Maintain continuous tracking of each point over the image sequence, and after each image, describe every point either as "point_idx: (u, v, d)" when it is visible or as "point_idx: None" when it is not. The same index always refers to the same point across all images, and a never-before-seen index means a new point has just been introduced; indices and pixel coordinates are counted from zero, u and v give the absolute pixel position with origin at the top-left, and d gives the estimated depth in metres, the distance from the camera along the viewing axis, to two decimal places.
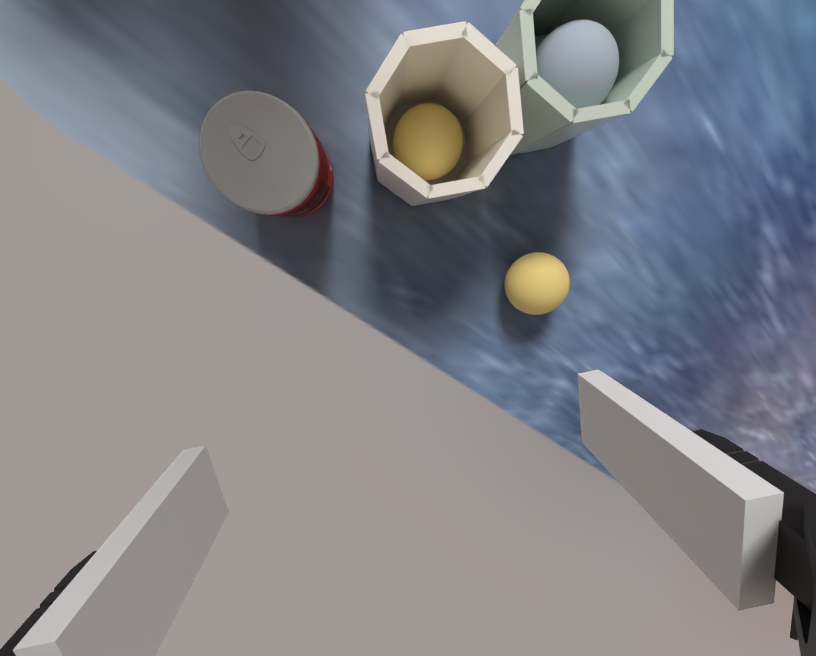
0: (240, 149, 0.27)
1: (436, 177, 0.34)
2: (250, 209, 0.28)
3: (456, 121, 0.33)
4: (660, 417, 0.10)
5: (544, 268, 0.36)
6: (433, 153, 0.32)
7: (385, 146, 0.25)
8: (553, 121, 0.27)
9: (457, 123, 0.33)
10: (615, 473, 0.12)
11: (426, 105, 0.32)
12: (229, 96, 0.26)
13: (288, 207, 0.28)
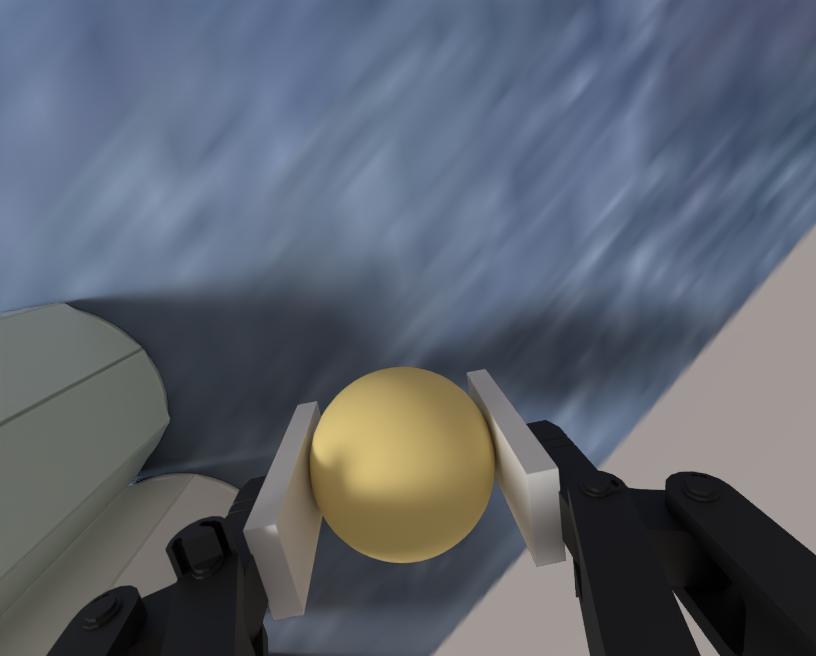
0: None
1: None
2: None
3: None
4: (507, 409, 0.12)
5: (344, 521, 0.11)
6: None
7: None
8: None
9: None
10: None
11: None
12: None
13: None
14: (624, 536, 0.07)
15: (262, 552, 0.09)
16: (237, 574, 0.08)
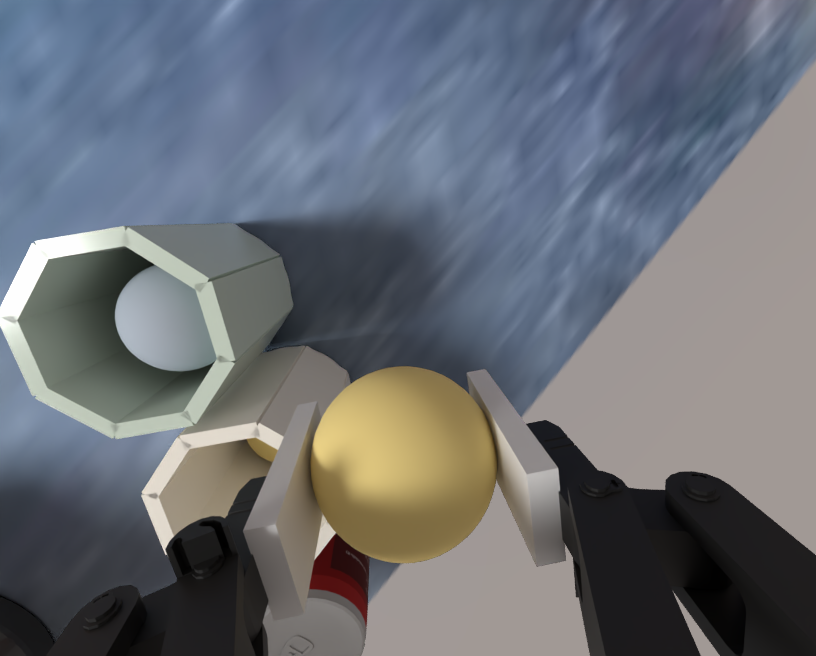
0: (303, 653, 0.27)
1: None
2: (361, 651, 0.27)
3: None
4: (507, 409, 0.12)
5: (345, 521, 0.11)
6: None
7: None
8: (239, 363, 0.20)
9: None
10: None
11: None
12: None
13: (358, 621, 0.26)
14: (624, 537, 0.07)
15: (262, 552, 0.09)
16: (237, 574, 0.08)
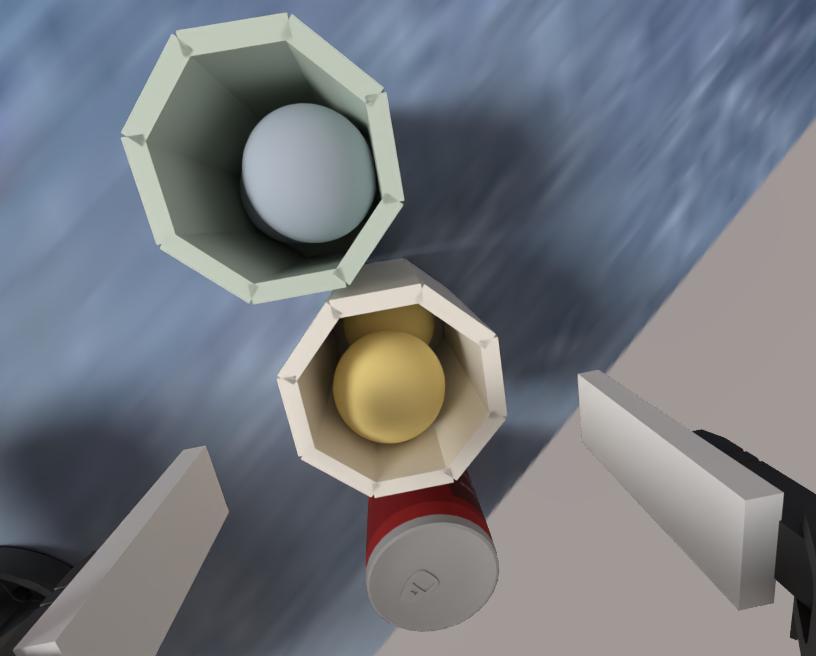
0: (426, 592, 0.23)
1: None
2: (493, 588, 0.23)
3: None
4: (659, 417, 0.10)
5: None
6: (410, 316, 0.24)
7: (437, 473, 0.19)
8: None
9: None
10: (615, 472, 0.12)
11: (349, 327, 0.25)
12: (373, 604, 0.23)
13: (493, 551, 0.23)
14: None
15: None
16: None
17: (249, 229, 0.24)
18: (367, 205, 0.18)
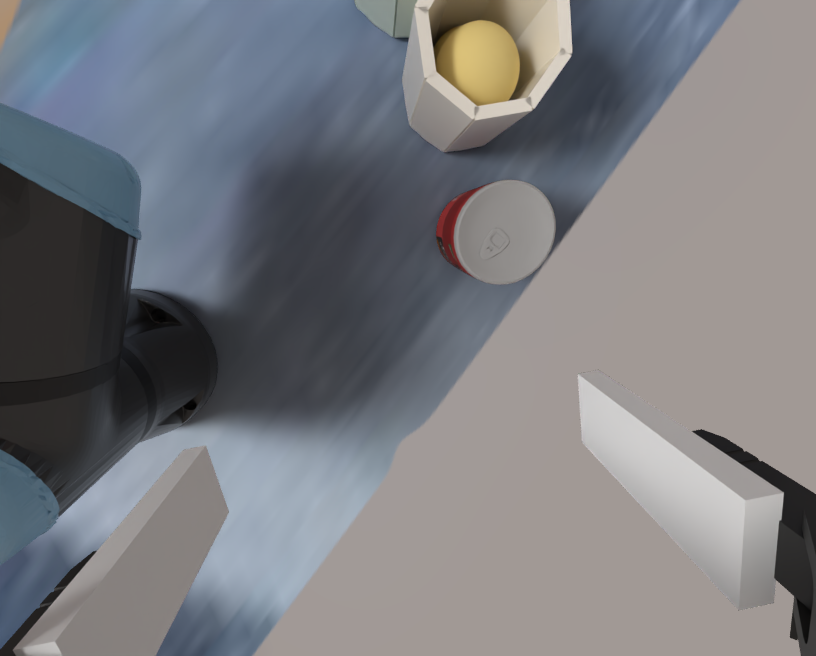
0: (499, 251, 0.31)
1: None
2: (550, 245, 0.31)
3: None
4: (659, 417, 0.10)
5: None
6: None
7: (521, 100, 0.26)
8: None
9: None
10: (615, 472, 0.12)
11: (436, 58, 0.32)
12: (460, 254, 0.30)
13: (552, 210, 0.30)
14: None
15: None
16: None
17: None
18: None
